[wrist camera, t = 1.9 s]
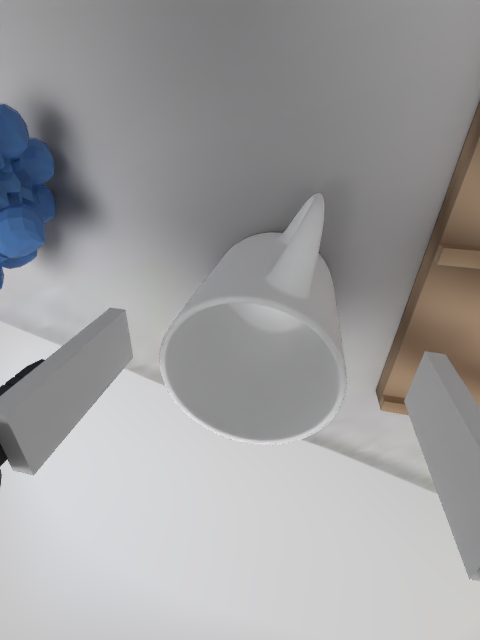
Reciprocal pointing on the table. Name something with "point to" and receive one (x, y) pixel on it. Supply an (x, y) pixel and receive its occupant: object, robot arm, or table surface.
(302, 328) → the mug
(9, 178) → the grapes
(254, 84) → the table surface
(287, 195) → the table surface
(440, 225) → the ledge board
